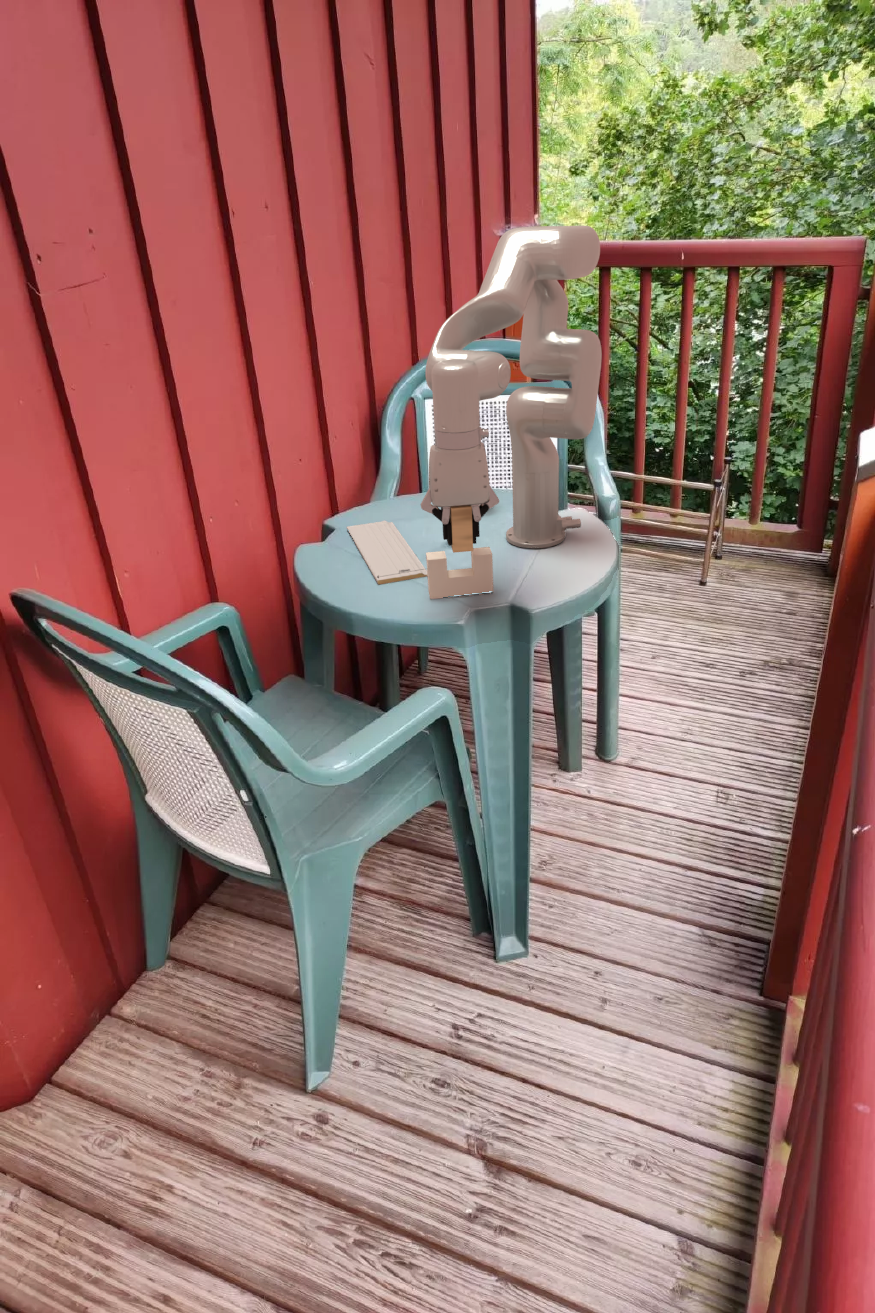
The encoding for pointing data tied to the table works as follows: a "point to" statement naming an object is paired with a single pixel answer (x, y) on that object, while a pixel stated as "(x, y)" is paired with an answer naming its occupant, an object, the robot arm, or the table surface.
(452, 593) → the cream upright board
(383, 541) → the baseboard molding
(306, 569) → the table surface
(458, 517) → the oak slotted board
